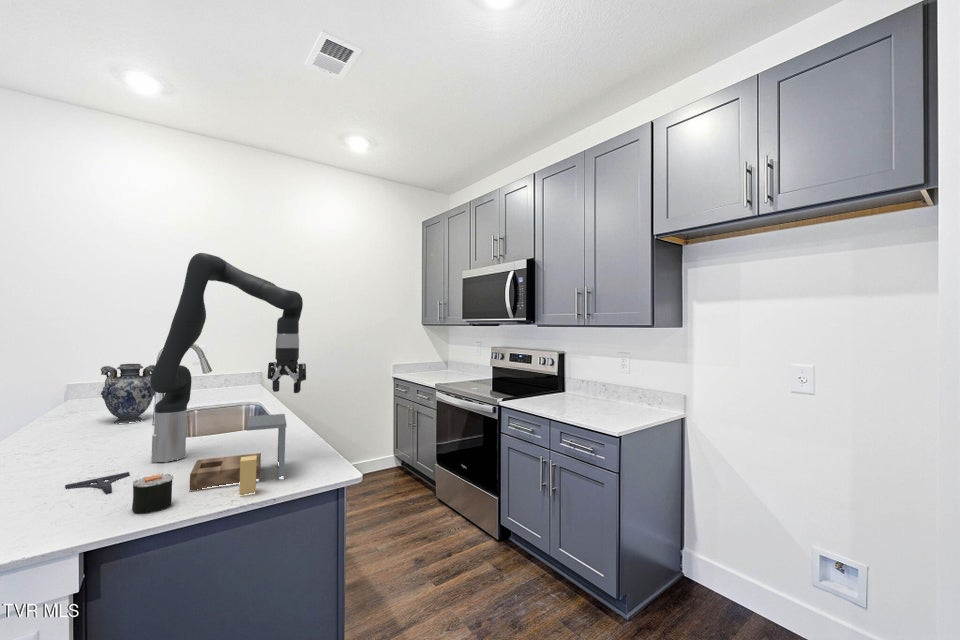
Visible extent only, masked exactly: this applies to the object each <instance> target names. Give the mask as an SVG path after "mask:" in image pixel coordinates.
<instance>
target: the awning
mask: <svg viewBox="0 0 960 640" xmlns="http://www.w3.org/2000/svg"><path fill="white" fill-rule="evenodd" d="M247 418H248V419H247V423H246V432H247V431H249V432H250V431H259V430H260V431H261V430H269V429H270V430H273V429H277V430H278V431H277V433H278V434H277V461H278V462H279V466H278V475H279V477H281V476H284V477H285V463H286V462H285V461H286V460H285V458H286V428H287V418H286V414H285V413H278V414H277V413H276V414H275V413H274V414H263V415H249V416H248V417H247Z"/></svg>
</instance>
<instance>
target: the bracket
mask: <svg viewBox="0 0 960 640" xmlns="http://www.w3.org/2000/svg"><path fill="white" fill-rule="evenodd" d="M130 476H131V473H130V472H129V471H127V472H122V473H116V474H112V475H107V476H103V477H97V478H92V479H87V480H83V481H79V482H73V483H68V484H65V485H64V488H65V490H72V489H82V488H84V489H85V488H94V489H95V488H96V489H101V490H102V492H103V493H104V494H105V495H109V494H112V493H113V487H112V482H113V483H115V482H116V480H117V481H119V479H120V480H122V479H124V478H128V477H130ZM105 480H108V481H105ZM114 481H115V482H114ZM91 483H93V484H91Z"/></svg>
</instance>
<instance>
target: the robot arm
mask: <svg viewBox="0 0 960 640" xmlns="http://www.w3.org/2000/svg"><path fill="white" fill-rule="evenodd" d="M209 281H210V282H211V281H212V282H220V283H225V284H228V285H231V286H234V287H236V288H238V289H239V290H241V291H242V292H243V293H245V294H247V295H249V296H251V297H254V298H256V299H258V300H261V301H264V302H266V303H268V304H270V305H271V306H273V307H275V308H277V309H279V310H282V315H281V317H279V318H277V321H276V337H275V356H274V357H275V360H276V361H272V362H268V364H267V365H268V366H267V376H266V377H267V380H271V381H272V385H271V386H272V389H271V390H273V391H272V392H274V393H276V392H277V393H278V392H279V391H280V379H281V377H283V376H288V377H290V378H291V379H292V380H293V394H299V393H300V391H301V388H302V387H301V386H302V385H301V383H302V382H303V381H306V380H307V364H306V363H304V362H303V363H299V362H298V361H299V359H300V337H299V329H300V327H299V325H300V323H299V322H300V319H301V315H302V311H303V305H304V304H303V301H304V300H303V297H302V295H301V294H300V293H299V292H297V291H295V290H288V289H285V288H283V287H280V286H277V285H276V284H275V283H273V282H271V281H269V280H266V279H264V278H262V277H259V276H256V275H254V274H251V273H249V272H245V271H244V270H242V269H239V268H238V267H235V266H234V265H232V264H231V263H229V262H228V261H226V260H225V259H223V258H222V257H219V256H217V255H214V254H209V253H205V252H198V253H196V254H195V253H194V255H192V256H191V258H190V260H189V262H188V265H187V268H186V274H185V278H184V284H183V287H182V291H181V295H180V298H179V301H178V305H177V308H176V310H175V313H174V315H173V318H172V320H171V324H170V328H169V331H168V335H167V337H166V340H165V343H164V345H163V348H162V350H161V353H160V355H159V356H158V359H157V361H156V363H155V364H154V365H155V367H154V369H153V372H152V374H151V373H150V374H151V378H150V385H151V388H152V389H153V390H154V391H155V393H157V394H164V396H163V397H162V398H161V400H159V401H158V402H156V403H155V405H154V424H153V425H154V427H153V434H152V438H151V458H150V459H151V462H150V463H153V462H154V463H157V462H165V463H169V462H168V461H172V462H174V461H173V460H177V459H180V460H182V459H181V458H183V457H184V456H185V457H186V453H187V452H186V446H187V445H186V444H187V443H186V442H187V415H188V414H187V413H188V411H187V410H188V404H189V402H190V400H191V394H192V393H191V391H192V374H191V371H190V369H189V368H188V367H186V366H185V365H181V362H182V360H183V357H184V356H185V354H186V353H188V351H189V350H190V349H191V348H192V346H193V345H194V344H195V343H196V342H197V340H199V338H200V336H201V334H202V332H203V328H204V326H205V323H206V320H207V311H206V306H205V305H206V304H205V291H206V288H207V285H208V282H209ZM185 457H184V458H185ZM184 458H183V459H184ZM177 461H178V460H177Z"/></svg>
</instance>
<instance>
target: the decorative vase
mask: <svg viewBox="0 0 960 640" xmlns="http://www.w3.org/2000/svg"><path fill="white" fill-rule="evenodd" d="M155 365H156V364H150V365H147V366H146V367H145V368H144V366H143V365H142V364H141V363H123V364H121V363H120V364H119V366H117V368H115V367H113V366H111V365H105V366H102V367H101V368H100V372H101V373H100V375H101V376H105V381H104V386H103V388H102V391H101V392H100V395H101V398H102V399H103V401H104V404H105V406H106V409H107V410H108V411H109V413H110V414H111V415H113V416H114V417H116V418H117V419H116V420H114V421H113V423H114V424H115V423H129V422H136V421H140V422H142V421H143V419H144V418H142V417H141V415H142V414H143V415H144V413H145V412H146V411H147V410H148V408H149V407H150V405H151V404H152V402H153V398H154V397H155V395H156V392H155V391H154V390H153V389H152V388H151V385H150V378H151V374H152V372H153V369H154V367H155ZM141 369H143V370H142V375H141V371H140V370H141ZM118 370H119V371H120V372H119V375H120V376H118ZM141 420H142V421H141ZM136 423H137V422H136Z"/></svg>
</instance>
